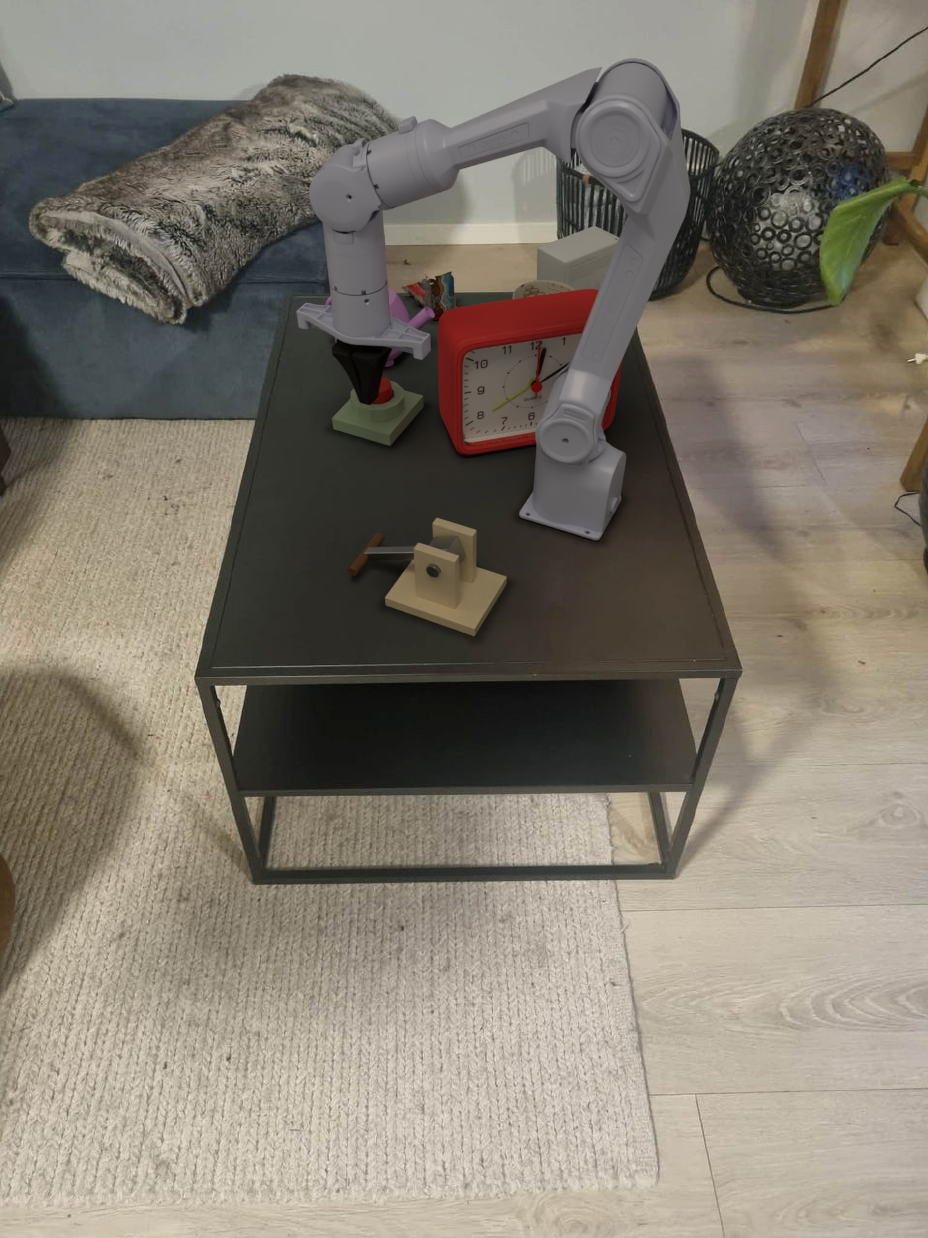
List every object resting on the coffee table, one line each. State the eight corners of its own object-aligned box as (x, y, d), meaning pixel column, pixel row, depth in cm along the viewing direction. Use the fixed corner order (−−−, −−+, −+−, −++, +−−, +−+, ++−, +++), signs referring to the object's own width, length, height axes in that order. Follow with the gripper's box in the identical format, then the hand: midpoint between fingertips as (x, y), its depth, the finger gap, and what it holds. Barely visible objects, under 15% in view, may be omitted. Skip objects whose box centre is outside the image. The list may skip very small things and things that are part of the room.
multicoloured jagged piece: (393, 241, 134) (430, 231, 135) (399, 288, 139) (434, 277, 140) (427, 278, 126) (465, 266, 128) (431, 325, 132) (468, 314, 133)
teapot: (339, 326, 131) (332, 263, 124) (443, 338, 129) (442, 274, 122) (316, 367, 124) (308, 302, 117) (426, 379, 122) (424, 314, 115)
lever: (353, 581, 96) (343, 563, 95) (380, 544, 100) (371, 527, 98) (448, 581, 89) (439, 562, 88) (474, 542, 93) (466, 523, 92)
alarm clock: (435, 416, 117) (432, 300, 105) (585, 392, 120) (598, 276, 108) (455, 463, 110) (454, 344, 99) (613, 436, 114) (630, 318, 102)
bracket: (385, 605, 95) (380, 549, 89) (420, 556, 100) (418, 500, 94) (474, 637, 92) (475, 581, 86) (506, 584, 97) (509, 528, 91)
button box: (423, 406, 118) (423, 382, 115) (390, 446, 113) (388, 422, 110) (368, 391, 120) (366, 367, 118) (333, 429, 115) (330, 405, 112)
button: (397, 392, 115) (396, 380, 113) (383, 408, 112) (382, 395, 111) (371, 385, 116) (370, 373, 114) (357, 400, 114) (356, 388, 112)
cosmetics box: (589, 293, 137) (594, 222, 129) (618, 311, 133) (626, 239, 126) (533, 316, 133) (535, 244, 125) (562, 335, 129) (566, 262, 122)
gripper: (443, 278, 91) (445, 396, 102) (316, 248, 96) (330, 364, 106) (410, 312, 87) (415, 431, 97) (278, 279, 91) (296, 397, 101)
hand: (369, 399), depth 101 cm, fingers closed
